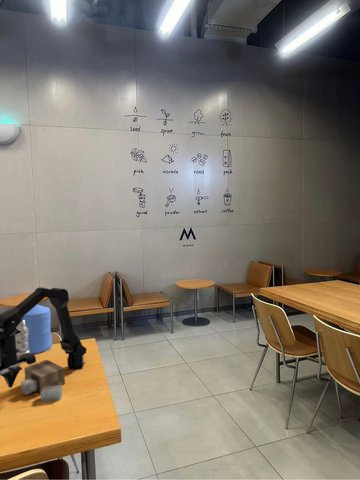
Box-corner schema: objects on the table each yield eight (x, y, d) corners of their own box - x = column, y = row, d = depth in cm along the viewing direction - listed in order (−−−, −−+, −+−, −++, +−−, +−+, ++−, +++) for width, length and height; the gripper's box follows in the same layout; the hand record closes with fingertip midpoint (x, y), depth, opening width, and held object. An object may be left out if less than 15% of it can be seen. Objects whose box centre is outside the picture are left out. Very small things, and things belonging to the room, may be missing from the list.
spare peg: (62, 394, 132) (61, 384, 131) (60, 400, 128) (60, 390, 127) (43, 396, 130) (42, 387, 130) (41, 402, 126) (40, 392, 126)
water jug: (41, 355, 170) (38, 301, 168) (14, 353, 173) (10, 301, 171) (58, 343, 185) (55, 294, 183) (33, 342, 188) (30, 294, 186)
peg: (38, 384, 138) (37, 375, 137) (43, 387, 135) (42, 377, 135) (21, 391, 132) (20, 382, 132) (26, 394, 130) (25, 385, 130)
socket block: (47, 374, 148) (46, 359, 148) (64, 383, 140) (64, 367, 139) (25, 383, 141) (24, 368, 140) (42, 394, 132) (41, 377, 131)
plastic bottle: (33, 357, 168) (31, 318, 167) (26, 362, 161) (23, 322, 160) (21, 356, 169) (19, 318, 167) (13, 362, 162) (11, 322, 161)
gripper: (22, 336, 138) (24, 372, 139) (-28, 350, 124) (-25, 391, 125) (35, 341, 131) (37, 379, 132) (-16, 358, 117) (-13, 400, 118)
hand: (10, 387), depth 127 cm, fingers closed
